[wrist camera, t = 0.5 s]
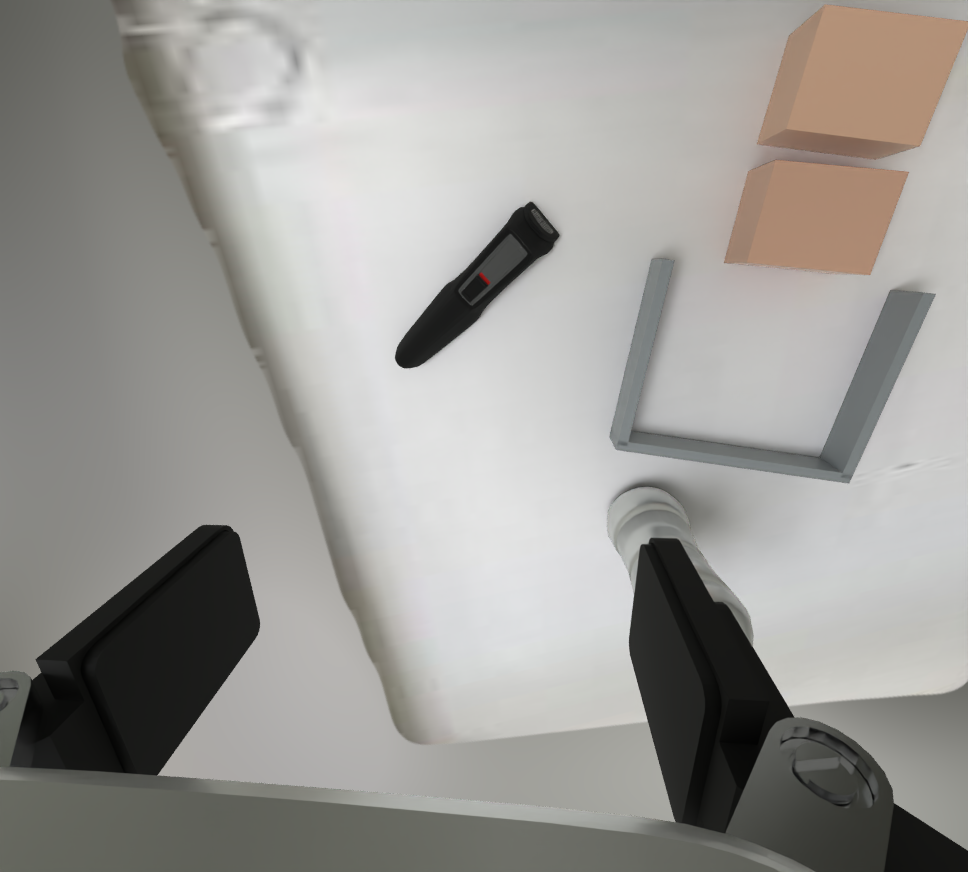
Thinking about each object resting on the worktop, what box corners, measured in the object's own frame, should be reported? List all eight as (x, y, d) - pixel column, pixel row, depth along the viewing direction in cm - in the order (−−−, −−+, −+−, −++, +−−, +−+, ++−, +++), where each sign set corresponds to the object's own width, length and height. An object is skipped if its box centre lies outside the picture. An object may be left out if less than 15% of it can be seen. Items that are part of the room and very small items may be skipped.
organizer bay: (651, 259, 34) (662, 258, 32) (901, 291, 34) (935, 294, 31) (609, 436, 39) (615, 449, 37) (825, 467, 39) (848, 483, 36)
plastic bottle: (681, 534, 42) (805, 748, 24) (606, 545, 43) (669, 758, 25) (674, 472, 40) (805, 652, 21) (596, 485, 41) (657, 667, 23)
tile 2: (787, 37, 29) (825, 4, 26) (913, 52, 29) (970, 21, 25) (755, 145, 32) (786, 128, 28) (872, 160, 31) (920, 146, 28)
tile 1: (746, 171, 32) (775, 159, 28) (863, 182, 32) (908, 171, 28) (722, 262, 34) (746, 262, 31) (832, 273, 34) (870, 275, 30)
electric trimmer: (390, 340, 39) (379, 347, 36) (529, 198, 34) (529, 192, 31) (422, 372, 39) (413, 382, 36) (562, 238, 35) (565, 236, 32)
